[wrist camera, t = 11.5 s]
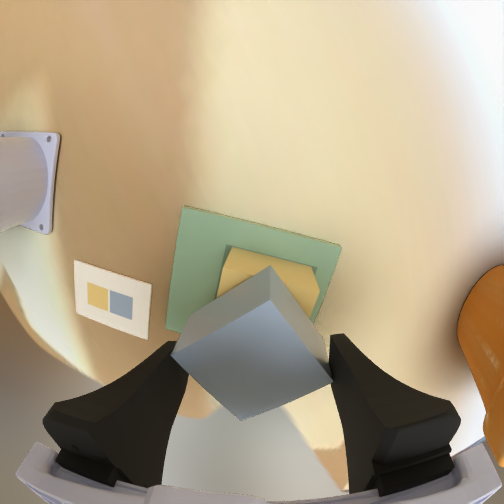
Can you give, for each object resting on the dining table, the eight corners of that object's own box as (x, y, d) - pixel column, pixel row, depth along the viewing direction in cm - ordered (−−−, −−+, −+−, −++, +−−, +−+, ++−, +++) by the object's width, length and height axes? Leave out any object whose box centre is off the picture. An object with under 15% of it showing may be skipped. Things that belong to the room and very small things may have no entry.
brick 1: (216, 315, 19) (206, 345, 16) (232, 246, 17) (223, 267, 14) (288, 332, 19) (290, 364, 16) (311, 266, 17) (319, 290, 14)
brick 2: (190, 314, 14) (170, 355, 11) (270, 264, 13) (269, 299, 10) (246, 375, 16) (240, 420, 12) (322, 337, 14) (333, 381, 11)
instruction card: (77, 311, 21) (76, 313, 21) (75, 259, 19) (73, 260, 19) (148, 338, 21) (147, 340, 21) (152, 284, 19) (151, 285, 19)
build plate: (167, 324, 20) (165, 328, 20) (185, 205, 17) (182, 207, 17) (297, 356, 20) (298, 361, 20) (339, 245, 18) (341, 247, 17)
